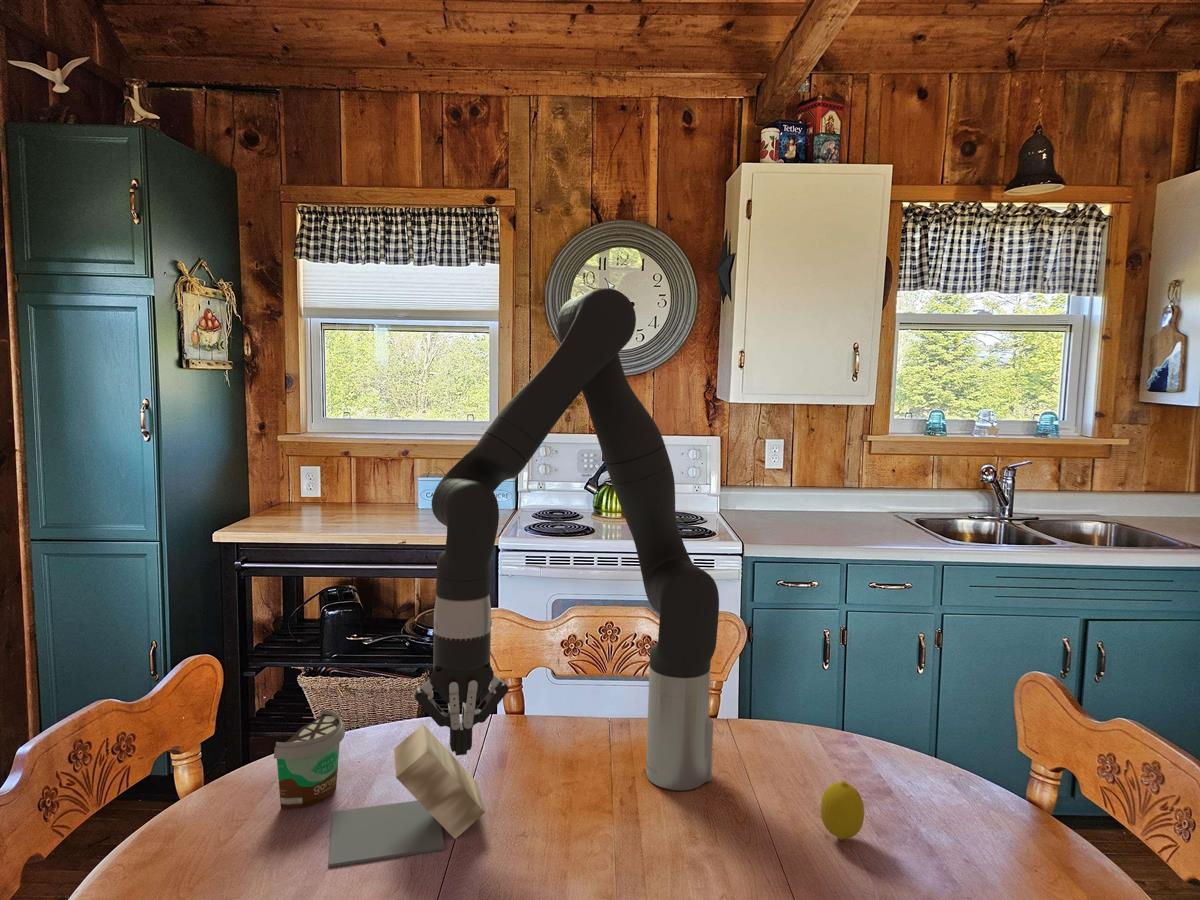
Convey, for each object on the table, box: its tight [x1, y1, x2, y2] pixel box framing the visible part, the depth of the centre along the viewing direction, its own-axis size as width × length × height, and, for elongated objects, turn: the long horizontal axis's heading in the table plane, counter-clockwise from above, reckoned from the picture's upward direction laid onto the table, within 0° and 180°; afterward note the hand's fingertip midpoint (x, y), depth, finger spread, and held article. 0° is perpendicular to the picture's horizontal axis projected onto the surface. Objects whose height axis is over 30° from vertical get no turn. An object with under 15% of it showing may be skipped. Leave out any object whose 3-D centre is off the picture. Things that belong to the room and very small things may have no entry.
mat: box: [328, 799, 446, 868], centre depth 101 cm, size 14×12×1 cm
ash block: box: [393, 723, 486, 840], centre depth 103 cm, size 5×8×12 cm
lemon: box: [820, 780, 865, 840], centre depth 102 cm, size 6×6×8 cm
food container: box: [273, 708, 346, 810], centre depth 110 cm, size 12×6×10 cm, turn 168°
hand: (460, 752), depth 103 cm, fingers closed
